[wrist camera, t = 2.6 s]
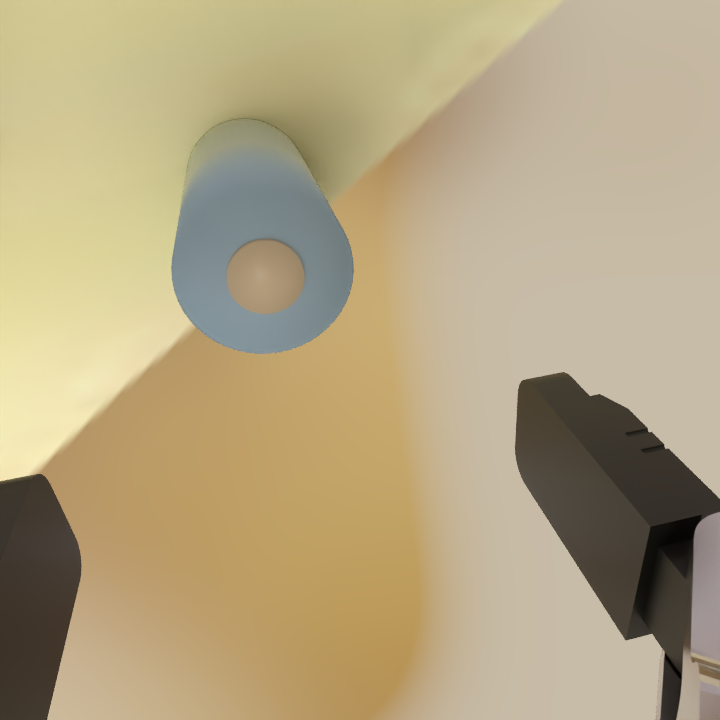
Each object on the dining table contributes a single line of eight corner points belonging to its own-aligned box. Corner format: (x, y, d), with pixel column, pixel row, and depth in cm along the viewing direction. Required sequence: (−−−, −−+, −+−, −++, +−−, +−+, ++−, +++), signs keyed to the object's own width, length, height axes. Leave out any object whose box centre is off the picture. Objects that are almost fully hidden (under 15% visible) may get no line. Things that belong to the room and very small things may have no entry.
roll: (173, 127, 25) (148, 203, 16) (297, 111, 26) (345, 174, 16) (201, 246, 28) (195, 372, 18) (313, 228, 29) (363, 341, 19)
